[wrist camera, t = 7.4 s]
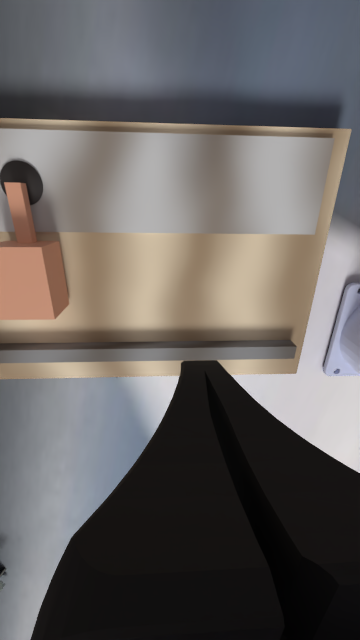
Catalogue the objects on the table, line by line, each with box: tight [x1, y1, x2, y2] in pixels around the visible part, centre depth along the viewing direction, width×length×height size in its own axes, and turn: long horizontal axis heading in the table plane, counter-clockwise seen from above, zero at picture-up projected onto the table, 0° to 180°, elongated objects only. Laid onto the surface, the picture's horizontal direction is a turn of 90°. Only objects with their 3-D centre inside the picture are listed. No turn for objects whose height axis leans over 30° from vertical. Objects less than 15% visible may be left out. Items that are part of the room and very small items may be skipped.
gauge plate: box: [0, 118, 351, 379], centre depth 17 cm, size 28×16×4 cm, turn 89°
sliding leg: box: [0, 182, 69, 320], centre depth 15 cm, size 3×7×2 cm, turn 179°
